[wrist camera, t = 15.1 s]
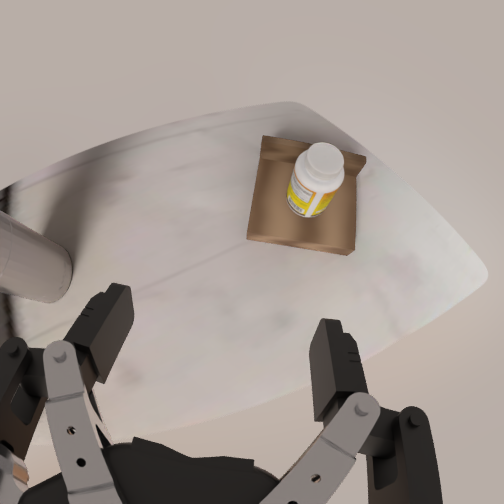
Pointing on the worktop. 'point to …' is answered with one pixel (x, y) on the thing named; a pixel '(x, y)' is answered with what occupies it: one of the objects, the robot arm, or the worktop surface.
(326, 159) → the supplement bottle
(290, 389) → the worktop surface
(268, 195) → the walnut shelf step
